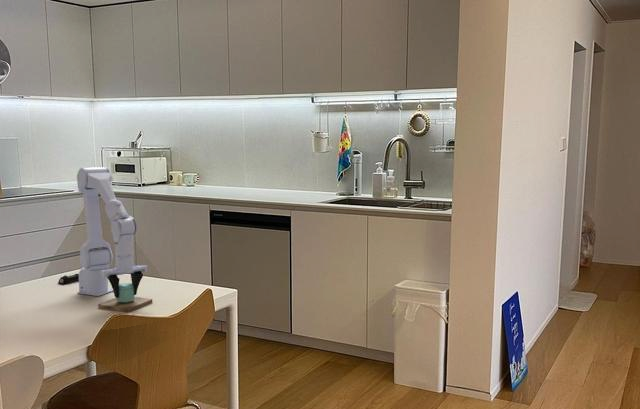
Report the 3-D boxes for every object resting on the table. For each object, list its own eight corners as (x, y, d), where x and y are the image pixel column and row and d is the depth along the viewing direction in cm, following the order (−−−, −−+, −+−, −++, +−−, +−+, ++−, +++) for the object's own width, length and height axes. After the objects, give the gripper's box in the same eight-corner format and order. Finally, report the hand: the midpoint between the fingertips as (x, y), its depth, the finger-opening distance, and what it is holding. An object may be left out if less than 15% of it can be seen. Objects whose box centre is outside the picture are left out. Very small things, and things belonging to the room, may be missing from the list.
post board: (98, 307, 195) (97, 293, 194) (123, 298, 206) (123, 284, 205) (128, 312, 190) (128, 298, 190) (152, 302, 201) (152, 288, 201)
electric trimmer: (99, 278, 234) (99, 270, 234) (63, 285, 222) (63, 277, 221) (94, 276, 236) (93, 268, 236) (57, 284, 224) (57, 275, 223)
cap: (120, 303, 194) (119, 287, 194) (114, 299, 198) (114, 284, 198) (136, 300, 197) (135, 285, 197) (130, 297, 201) (129, 282, 201)
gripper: (106, 259, 188) (107, 302, 190) (150, 254, 197) (151, 295, 199) (98, 255, 194) (100, 297, 195) (142, 250, 203) (143, 290, 204)
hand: (125, 295), depth 197 cm, fingers closed on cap, 5 cm apart
